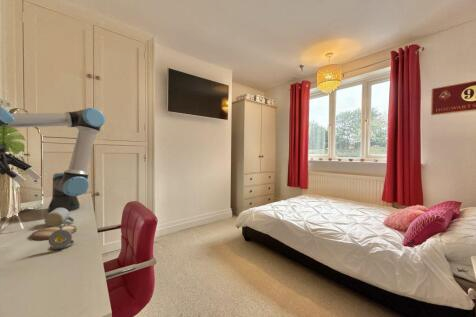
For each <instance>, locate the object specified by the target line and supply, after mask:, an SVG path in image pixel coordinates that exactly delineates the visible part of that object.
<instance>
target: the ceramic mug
mask: <svg viewBox="0 0 476 317" xmlns="http://www.w3.org/2000/svg"><path fill="white" fill-rule="evenodd" d="M74 222H75V218H73V217H71V216H70V211H68V210H67V209H65V208H56V209H54V210H53V211H52V212H49V213H48V214H46V216H45V217H44V224H45V225H47V226H48V227H54V226H56V225H57V224H59V225H57V226H61V225H64V224H65V225H73V224H74ZM61 223H63V224H61Z"/></svg>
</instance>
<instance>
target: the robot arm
mask: <svg viewBox="0 0 476 317" xmlns="http://www.w3.org/2000/svg"><path fill="white" fill-rule="evenodd" d="M104 124H106V115H105V114H104V113H103V111H101V110H99V109H97V108H95V107H86V108H84V109H81V110H80V109H79V110H75V111H66V112H64V113H29V112H28V113H13V112H12V113H11V112H9V110H8V109H6V108H4V107H1V106H0V127H1V126H3V125H9V126H12V127H14V128H15V129H17V128H38V127H39V128H40V127H41V128H42V127H43V128H44V127H68V128H76V129H77V130H78V132H77V136H76V139H75V143H74V146H73V151H72V154H71V157H70V159H71V160H70V162H69V166H68V169H66V170H64V172H55V173H54V174H53V175H52V195H51V196H52V197H51V200H50V202H49V204H48V208H47V211H48V212H49V213H50V212H52V211H53V210H54V209H56V208H65V209H67V210H68V211H69V212H71V210H72V211H75V209H76V210H78V209H80V208H79V207H80V206H81V204H80V201H79V199H78V197H79V196H81V195H83V194H86V192H88V190H89V186H90V183H89V180H88V178H89V173H88V172H87V170H88V167H89V162H90V160H91V159H90V158H91V154H92V151H93V146H94V141H95V138H96V135H97V134H99V133H100V131H101V127H102V126H103V125H104ZM6 149H7V148H6V147H5V146H4V145H3V144H1V143H0V175H2V176H4V175H6V176H8V177H9V178H11V180H13V181H14V182H15V183H17V184H18V185H21V184H22V183H24V182H25V181H26V180H27V178H25V177H23V176H22V175H21V174H20V173H18V172H17V171H16V170H15V169H11V167H10V166H13V167H15V168H18V169H19V170H21V171H23V173H25V174H26V175H27V176H29V177H30V178H32V179H33V180H34V181H38V180H40V179H41V178H42V176H41V174H38V173H37V172H36V171H35V170H34V169H33V168H32V167H33V166H32V165H30V164H28V163H27V162H25V161H23V160H22V159H20V158H18V157H17V156H15V155H14V154H12V153H6V152H5V151H6ZM9 165H10V166H9ZM77 208H78V209H77Z"/></svg>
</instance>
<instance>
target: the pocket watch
mask: <svg viewBox="0 0 476 317" xmlns="http://www.w3.org/2000/svg"><path fill="white" fill-rule="evenodd" d="M57 225H58V226H60V227H59V228H60V230H57V231H55V232H53V233H52V234H51V235H50V237H49V240H48V244H49V246H51V249H53V250H59V249H65V248H68V247H72V245H74V243H75V241H74V240H72V239H73V233H72V234H71V232H70V231H68V230H65V229H62V228H63V227H64V226H65V225H66V224H63V223H61V224H60V225H59V224H57ZM57 225H56V226H57ZM62 225H64V226H62ZM58 226H57V227H58ZM56 236H57V237H56ZM55 238H56V239H55Z"/></svg>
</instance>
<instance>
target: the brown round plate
mask: <svg viewBox="0 0 476 317" xmlns="http://www.w3.org/2000/svg"><path fill="white" fill-rule="evenodd" d="M61 225H62V226H64V224H61ZM61 225H58V227H57V226H54V227H51V226H48V227H45V228H42V229H41V228H40V229H38V230H36V231H34V232H32V233H31V234H30V239H31V240H33V241H49V237H50V235H51V234H52V233H53V232H55V231H57V230H60V228H59V227H60V226H61ZM77 228H78V227H77V226H75V225H73V224H65V226H64V227H63V228H62V229H65V230H68V231H70V232H71V234H72V235H73V234H74V233H75V232H76V231H77ZM56 237H57V236H56ZM55 239H57V238H55ZM55 239H54V240H55Z"/></svg>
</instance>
